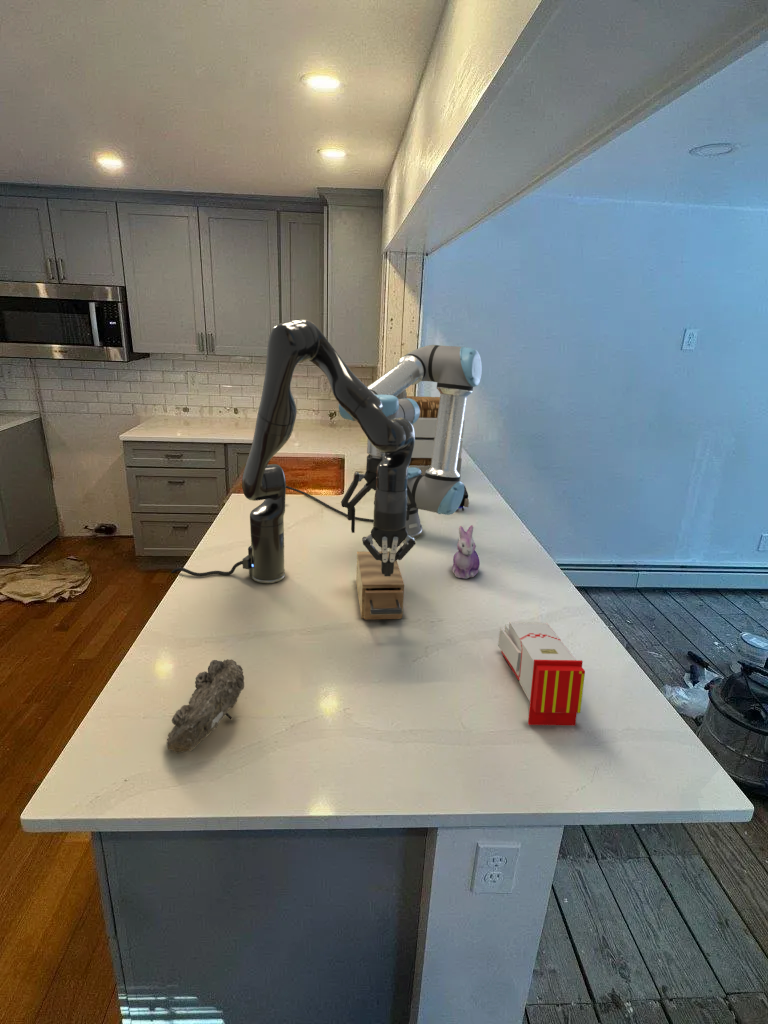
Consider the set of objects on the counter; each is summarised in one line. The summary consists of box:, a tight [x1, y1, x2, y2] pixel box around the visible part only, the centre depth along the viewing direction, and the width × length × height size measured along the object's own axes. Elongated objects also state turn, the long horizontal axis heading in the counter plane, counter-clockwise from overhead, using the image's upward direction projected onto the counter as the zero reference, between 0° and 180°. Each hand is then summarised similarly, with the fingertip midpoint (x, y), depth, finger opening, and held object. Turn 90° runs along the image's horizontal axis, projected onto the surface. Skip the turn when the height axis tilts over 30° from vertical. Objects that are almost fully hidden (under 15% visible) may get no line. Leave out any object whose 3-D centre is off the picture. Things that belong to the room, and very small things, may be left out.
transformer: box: [396, 389, 465, 481], centre depth 268 cm, size 34×33×41 cm
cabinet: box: [355, 550, 405, 619], centre depth 153 cm, size 20×11×10 cm, turn 6°
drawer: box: [363, 588, 404, 621], centre depth 148 cm, size 25×9×8 cm, turn 6°
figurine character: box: [455, 485, 470, 512], centre depth 229 cm, size 7×8×15 cm
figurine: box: [451, 524, 481, 580], centre depth 170 cm, size 9×10×15 cm
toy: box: [497, 621, 586, 727], centre depth 121 cm, size 12×13×30 cm
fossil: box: [166, 658, 245, 754], centre depth 106 cm, size 22×10×15 cm
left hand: (387, 574), depth 135 cm, fingers closed
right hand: (377, 531), depth 155 cm, fingers open, 13 cm apart
